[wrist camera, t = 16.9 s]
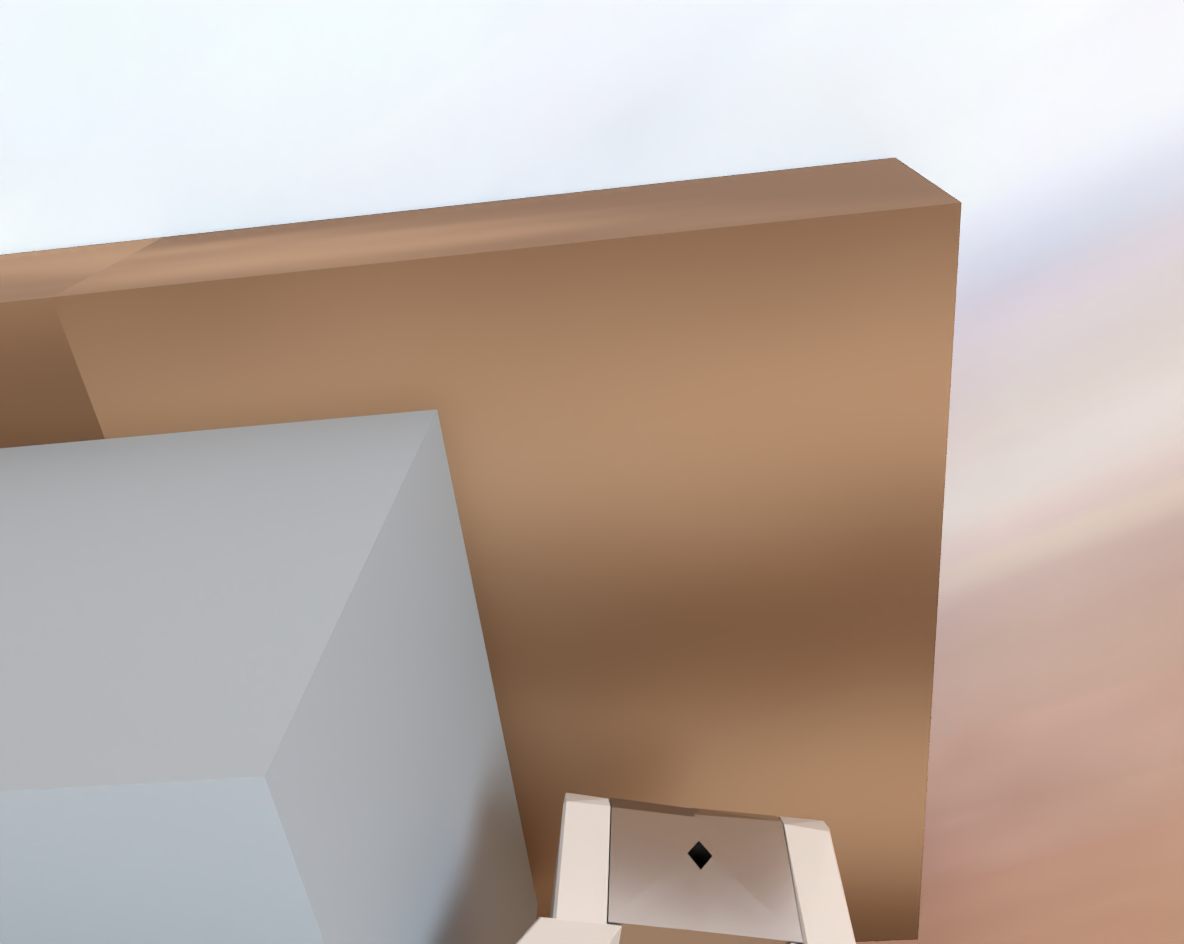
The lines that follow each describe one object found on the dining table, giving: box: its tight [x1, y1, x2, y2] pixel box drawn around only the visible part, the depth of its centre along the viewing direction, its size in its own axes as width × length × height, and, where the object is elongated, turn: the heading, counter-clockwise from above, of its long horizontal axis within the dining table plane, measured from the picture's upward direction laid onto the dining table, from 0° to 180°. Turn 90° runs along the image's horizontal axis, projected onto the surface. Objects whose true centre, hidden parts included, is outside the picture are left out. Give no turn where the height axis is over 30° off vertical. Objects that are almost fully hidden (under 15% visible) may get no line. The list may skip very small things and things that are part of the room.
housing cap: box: [0, 409, 538, 944], centre depth 11 cm, size 9×9×6 cm
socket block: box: [0, 158, 961, 942], centre depth 15 cm, size 12×18×3 cm, turn 96°
